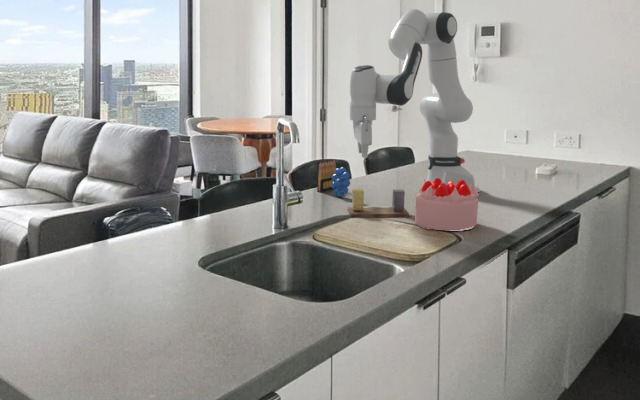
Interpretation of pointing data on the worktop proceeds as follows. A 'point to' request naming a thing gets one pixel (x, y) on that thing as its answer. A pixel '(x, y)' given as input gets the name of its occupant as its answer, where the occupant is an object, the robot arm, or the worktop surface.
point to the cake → (446, 205)
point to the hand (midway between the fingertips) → (362, 155)
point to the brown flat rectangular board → (377, 212)
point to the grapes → (340, 182)
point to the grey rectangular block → (398, 200)
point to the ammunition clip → (326, 176)
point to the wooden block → (358, 199)
